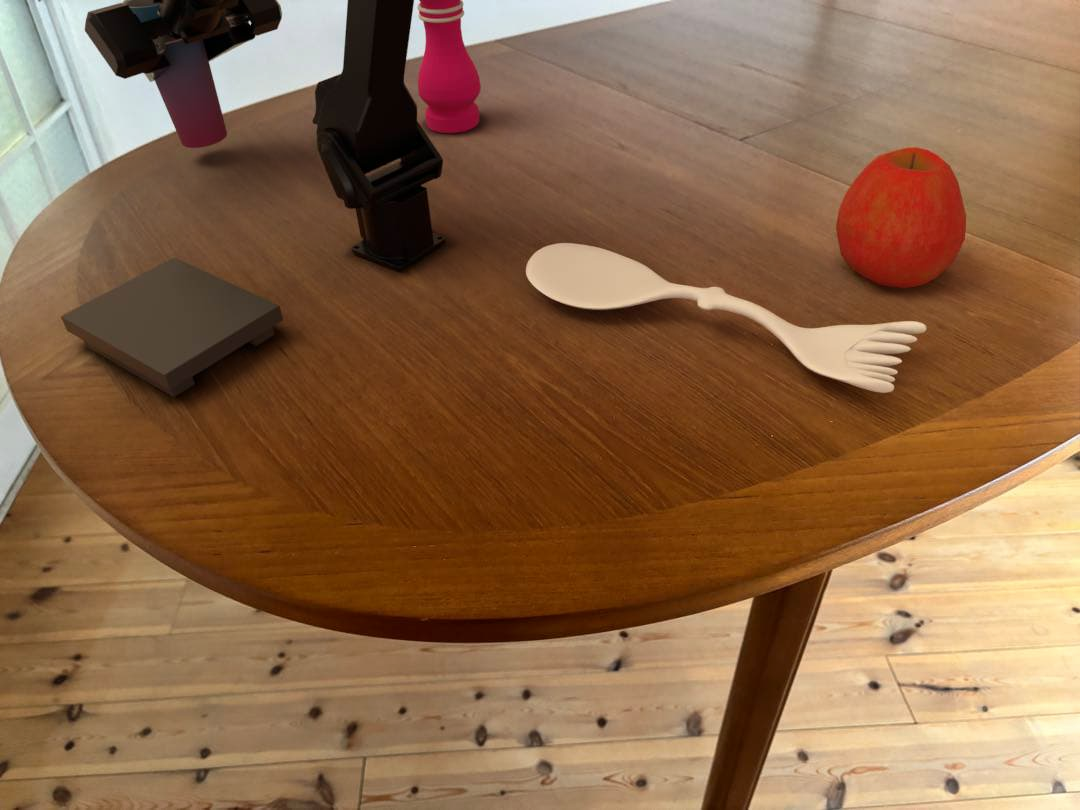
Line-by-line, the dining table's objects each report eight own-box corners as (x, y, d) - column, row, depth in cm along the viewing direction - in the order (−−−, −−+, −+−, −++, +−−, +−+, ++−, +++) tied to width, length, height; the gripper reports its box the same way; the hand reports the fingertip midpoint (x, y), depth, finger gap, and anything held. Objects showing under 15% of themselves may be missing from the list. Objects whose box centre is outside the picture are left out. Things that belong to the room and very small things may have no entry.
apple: (845, 228, 85) (865, 119, 78) (962, 250, 81) (994, 138, 74) (816, 282, 78) (836, 168, 72) (943, 309, 74) (976, 191, 68)
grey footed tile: (287, 335, 76) (279, 304, 74) (176, 406, 69) (164, 374, 67) (184, 286, 82) (174, 256, 81) (73, 346, 76) (60, 316, 74)
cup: (217, 151, 99) (169, 5, 89) (162, 151, 100) (108, 8, 91) (245, 126, 104) (202, -15, 94) (192, 126, 105) (144, -12, 96)
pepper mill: (492, 128, 107) (477, -60, 94) (432, 140, 105) (408, -50, 92) (472, 107, 112) (455, -74, 99) (415, 118, 110) (390, -65, 97)
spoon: (884, 422, 64) (894, 383, 62) (507, 301, 78) (504, 266, 76) (920, 355, 70) (930, 318, 68) (562, 253, 84) (561, 219, 82)
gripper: (237, -121, 90) (207, -17, 103) (53, -82, 79) (46, 28, 92) (302, -24, 90) (265, 67, 103) (129, 27, 80) (111, 121, 93)
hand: (175, 68), depth 98 cm, fingers closed on cup, 6 cm apart
